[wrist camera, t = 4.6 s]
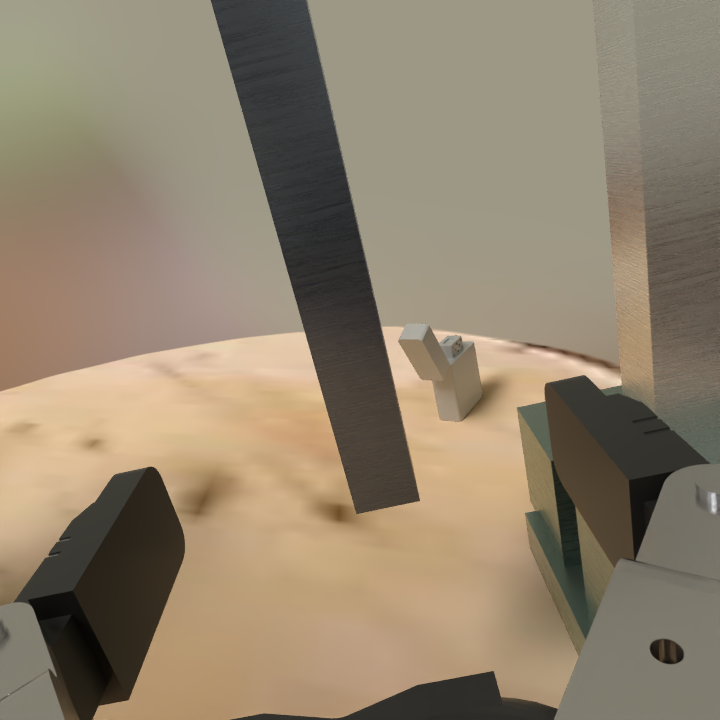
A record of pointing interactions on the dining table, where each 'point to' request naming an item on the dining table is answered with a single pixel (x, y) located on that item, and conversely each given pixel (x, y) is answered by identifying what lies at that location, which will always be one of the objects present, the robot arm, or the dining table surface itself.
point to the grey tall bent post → (646, 264)
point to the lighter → (444, 369)
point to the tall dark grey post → (319, 238)
